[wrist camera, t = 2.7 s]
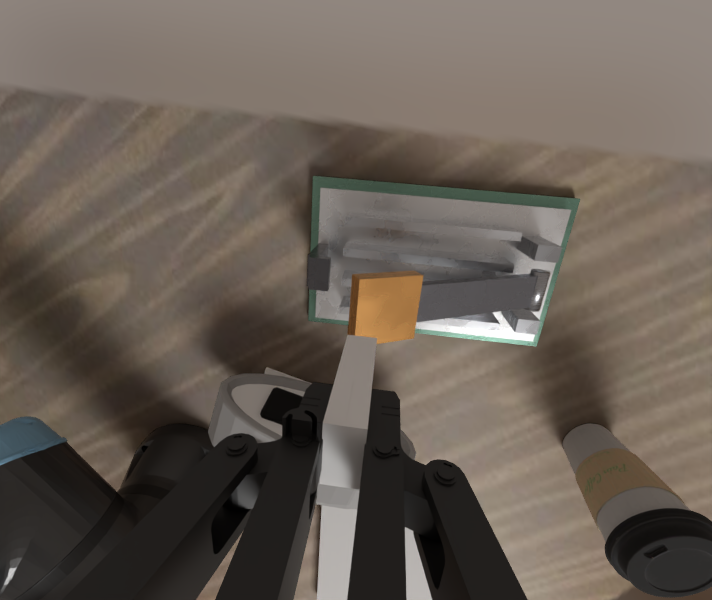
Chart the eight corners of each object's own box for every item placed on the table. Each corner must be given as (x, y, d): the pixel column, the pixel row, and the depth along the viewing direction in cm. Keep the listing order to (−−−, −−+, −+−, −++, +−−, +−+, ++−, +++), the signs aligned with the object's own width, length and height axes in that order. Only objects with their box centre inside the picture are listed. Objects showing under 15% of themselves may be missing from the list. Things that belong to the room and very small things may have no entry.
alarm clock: (413, 414, 46) (421, 501, 34) (395, 448, 48) (396, 541, 36) (244, 352, 45) (191, 419, 33) (233, 389, 47) (180, 465, 35)
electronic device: (325, 468, 51) (322, 479, 49) (465, 486, 50) (468, 499, 48) (318, 593, 61) (316, 607, 59) (434, 612, 60) (436, 626, 58)
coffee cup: (566, 404, 43) (650, 518, 29) (643, 421, 43) (764, 545, 29) (536, 461, 46) (598, 589, 32) (607, 478, 46) (700, 613, 32)
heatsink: (310, 317, 42) (292, 350, 35) (315, 175, 36) (294, 177, 29) (533, 342, 41) (565, 382, 33) (575, 198, 35) (626, 206, 27)
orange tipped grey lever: (344, 336, 26) (353, 347, 25) (348, 271, 24) (359, 279, 23) (527, 311, 34) (543, 318, 33) (541, 260, 32) (558, 266, 31)
